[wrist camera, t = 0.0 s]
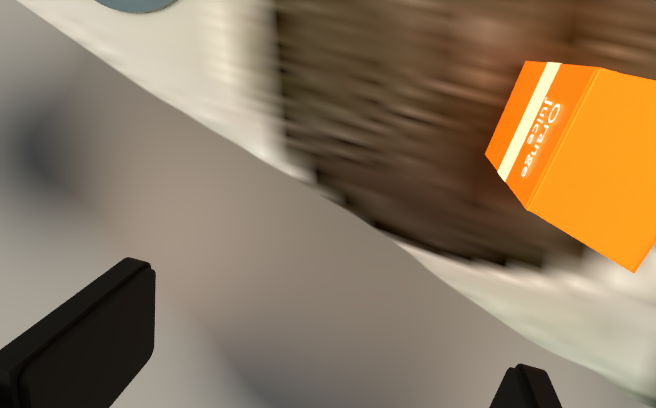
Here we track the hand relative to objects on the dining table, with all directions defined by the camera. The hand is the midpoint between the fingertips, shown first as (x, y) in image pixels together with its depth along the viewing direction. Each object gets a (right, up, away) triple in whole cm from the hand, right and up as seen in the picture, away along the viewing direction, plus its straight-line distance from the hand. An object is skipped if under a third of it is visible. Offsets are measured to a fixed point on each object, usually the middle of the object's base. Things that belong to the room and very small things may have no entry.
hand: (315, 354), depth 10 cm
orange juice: (+20, +11, +26) cm, 35 cm away
